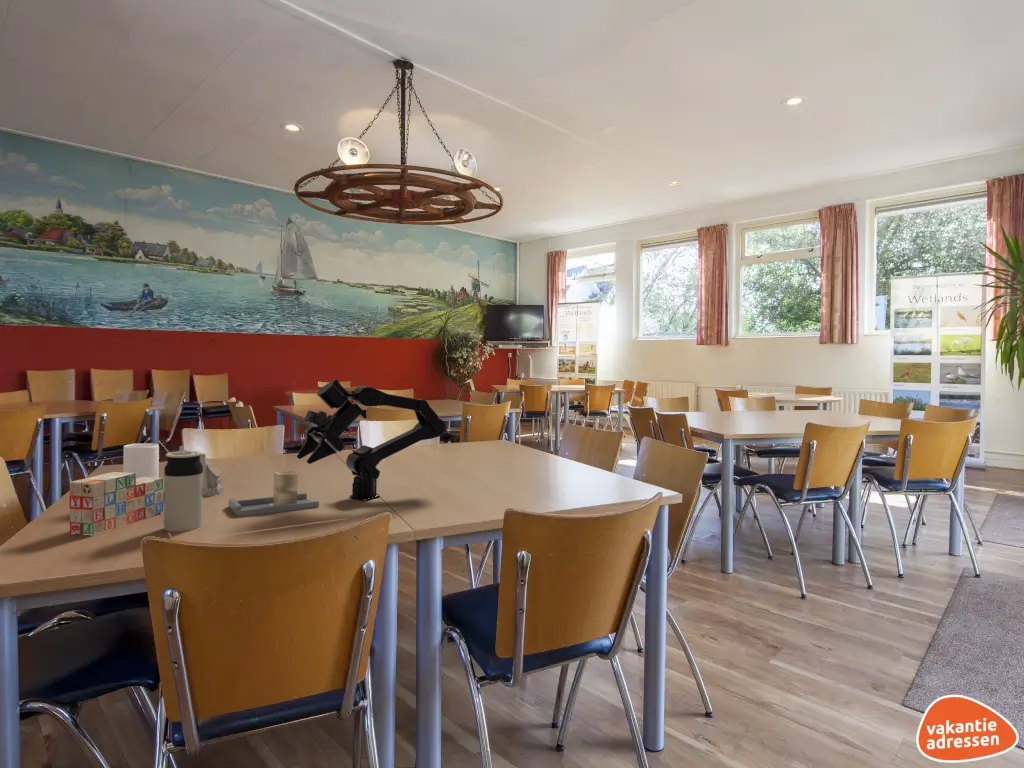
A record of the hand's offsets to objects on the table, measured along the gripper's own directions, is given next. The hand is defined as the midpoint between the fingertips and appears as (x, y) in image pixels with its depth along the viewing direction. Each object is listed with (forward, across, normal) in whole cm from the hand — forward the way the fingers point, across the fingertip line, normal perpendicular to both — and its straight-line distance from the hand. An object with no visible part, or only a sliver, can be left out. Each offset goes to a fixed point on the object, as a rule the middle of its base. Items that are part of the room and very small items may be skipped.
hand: (302, 460), depth 164 cm
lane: (+14, 0, +4) cm, 15 cm away
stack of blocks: (+39, -4, -21) cm, 45 cm away
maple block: (+12, 0, +5) cm, 13 cm away
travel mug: (+30, +8, -12) cm, 34 cm away
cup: (+35, -24, -17) cm, 46 cm away
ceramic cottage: (+24, -31, -6) cm, 40 cm away
